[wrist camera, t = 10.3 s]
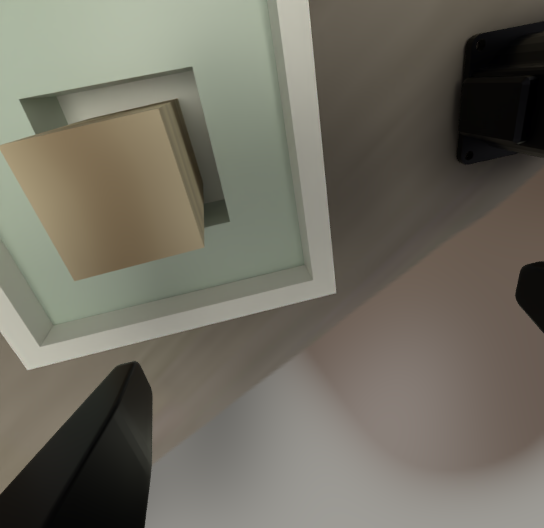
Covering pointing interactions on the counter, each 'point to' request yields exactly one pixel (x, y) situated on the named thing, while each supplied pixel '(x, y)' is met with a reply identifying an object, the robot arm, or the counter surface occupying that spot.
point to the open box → (208, 152)
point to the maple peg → (114, 188)
